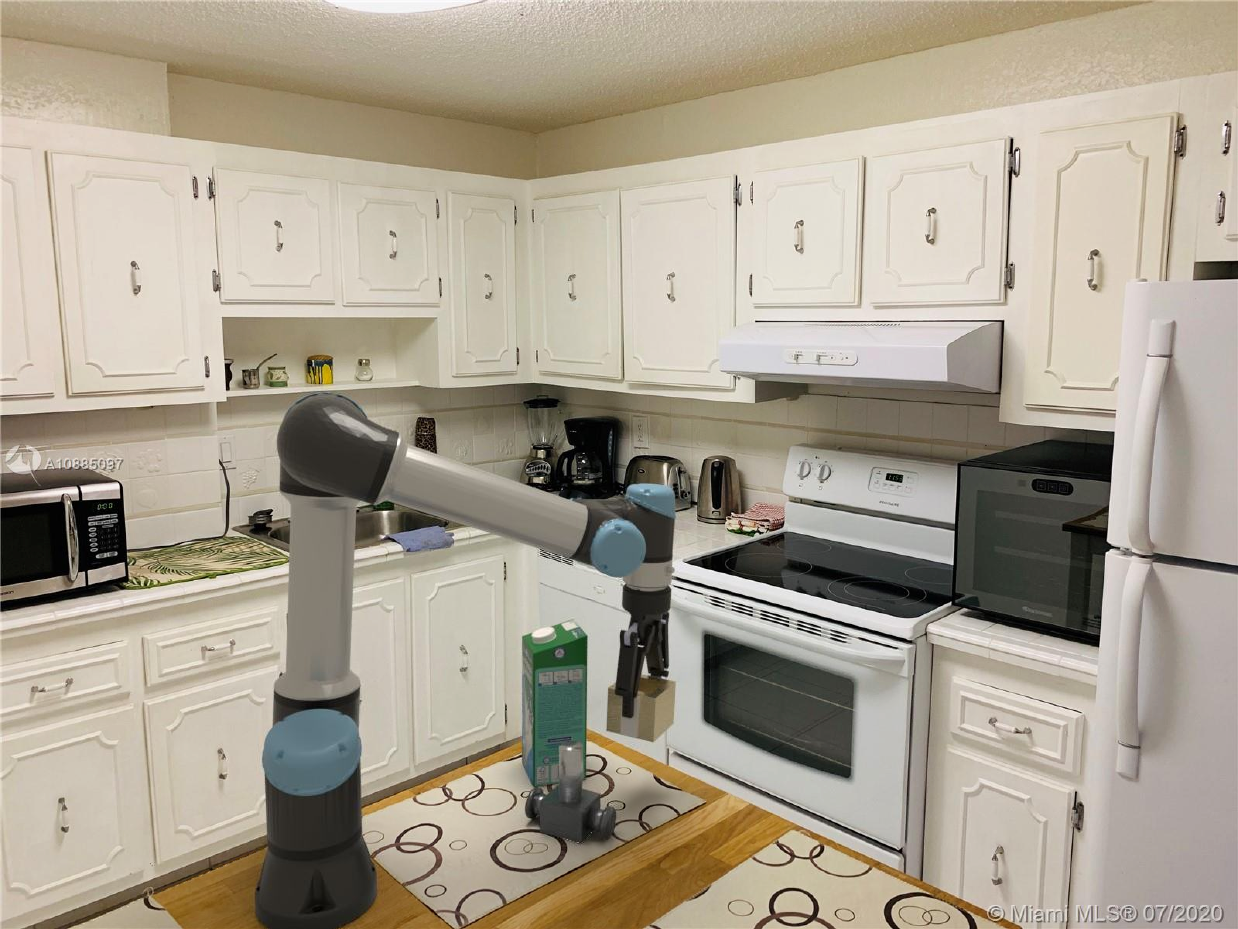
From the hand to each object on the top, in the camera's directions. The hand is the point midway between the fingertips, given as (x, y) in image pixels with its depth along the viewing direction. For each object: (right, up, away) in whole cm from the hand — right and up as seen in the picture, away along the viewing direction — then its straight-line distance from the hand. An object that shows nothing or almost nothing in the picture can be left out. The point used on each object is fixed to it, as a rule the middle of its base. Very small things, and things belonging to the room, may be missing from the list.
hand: (640, 725), depth 144 cm
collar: (0, 0, 0) cm, 0 cm away
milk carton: (-15, -11, +11) cm, 21 cm away
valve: (-11, -13, -7) cm, 19 cm away
